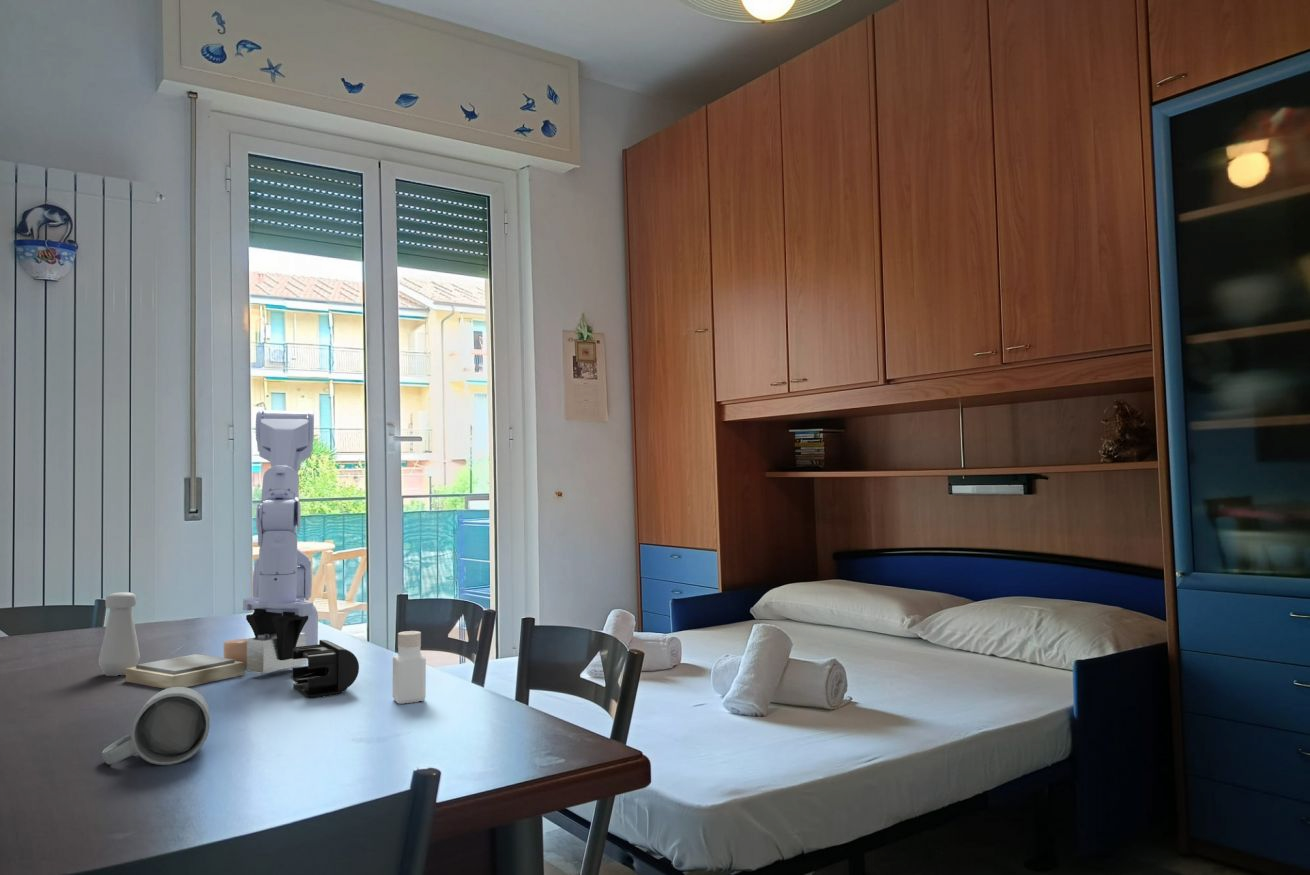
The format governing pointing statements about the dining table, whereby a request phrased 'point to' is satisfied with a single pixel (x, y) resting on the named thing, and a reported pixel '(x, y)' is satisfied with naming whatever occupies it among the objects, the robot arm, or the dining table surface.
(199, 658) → the birch plinth
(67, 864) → the dining table surface
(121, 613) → the salt shaker
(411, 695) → the pepper shaker
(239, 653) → the peach rounded cylinder
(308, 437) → the robot arm
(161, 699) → the ceramic mug
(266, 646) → the alloy housing
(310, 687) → the end cap
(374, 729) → the dining table surface
